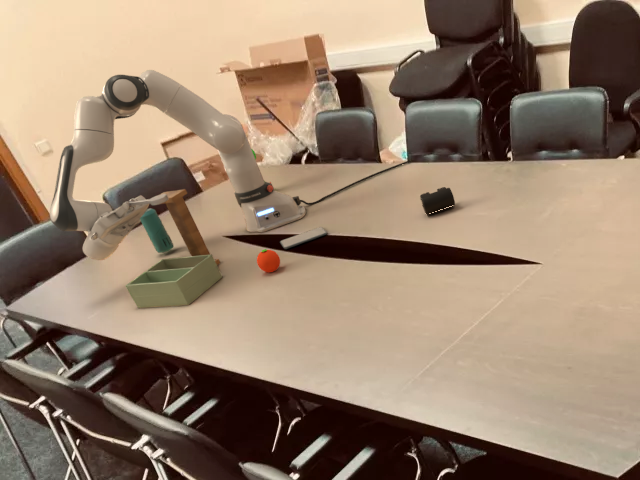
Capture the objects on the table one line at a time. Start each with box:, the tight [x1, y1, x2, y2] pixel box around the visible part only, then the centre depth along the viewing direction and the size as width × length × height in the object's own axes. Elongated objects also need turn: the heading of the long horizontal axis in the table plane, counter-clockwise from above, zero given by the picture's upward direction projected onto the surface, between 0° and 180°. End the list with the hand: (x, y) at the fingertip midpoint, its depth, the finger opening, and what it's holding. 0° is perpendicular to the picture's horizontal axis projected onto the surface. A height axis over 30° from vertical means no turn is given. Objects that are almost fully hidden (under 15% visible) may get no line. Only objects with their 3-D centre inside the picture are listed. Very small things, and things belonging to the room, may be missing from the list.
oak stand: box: [159, 188, 221, 266], centre depth 233 cm, size 9×7×26 cm
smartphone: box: [279, 226, 328, 250], centre depth 241 cm, size 8×1×15 cm
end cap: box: [419, 186, 456, 217], centre depth 233 cm, size 10×7×7 cm
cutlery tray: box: [124, 253, 223, 309], centre depth 224 cm, size 20×18×8 cm
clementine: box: [256, 248, 281, 273], centre depth 222 cm, size 8×7×7 cm
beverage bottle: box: [140, 207, 175, 254], centre depth 257 cm, size 6×7×20 cm
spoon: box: [129, 193, 169, 206], centre depth 214 cm, size 16×5×1 cm, turn 73°
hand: (131, 202), depth 216 cm, fingers closed on spoon, 1 cm apart
